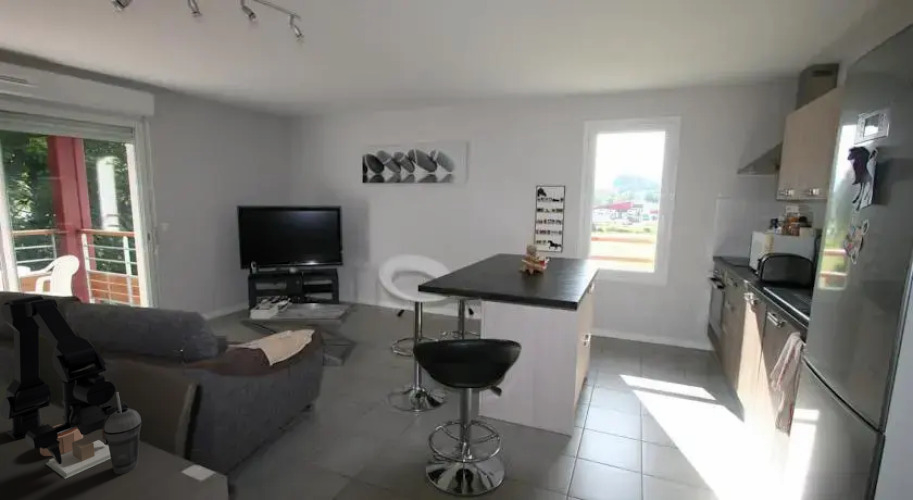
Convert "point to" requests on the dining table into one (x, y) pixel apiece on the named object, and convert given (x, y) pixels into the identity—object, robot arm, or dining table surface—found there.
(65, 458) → the cover sheet
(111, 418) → the beverage cup
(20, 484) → the dining table surface
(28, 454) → the dining table surface
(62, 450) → the segmented pink ring
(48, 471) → the dining table surface
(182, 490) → the dining table surface
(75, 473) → the mat
